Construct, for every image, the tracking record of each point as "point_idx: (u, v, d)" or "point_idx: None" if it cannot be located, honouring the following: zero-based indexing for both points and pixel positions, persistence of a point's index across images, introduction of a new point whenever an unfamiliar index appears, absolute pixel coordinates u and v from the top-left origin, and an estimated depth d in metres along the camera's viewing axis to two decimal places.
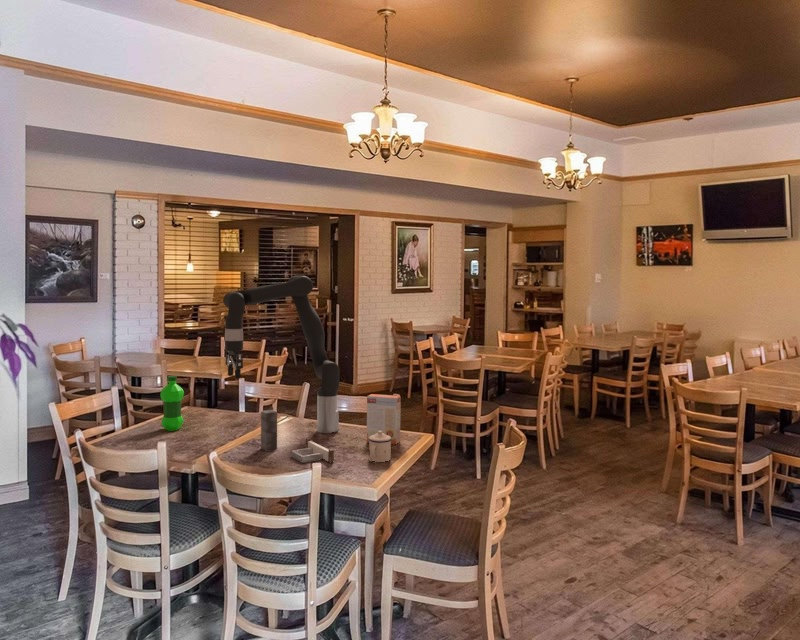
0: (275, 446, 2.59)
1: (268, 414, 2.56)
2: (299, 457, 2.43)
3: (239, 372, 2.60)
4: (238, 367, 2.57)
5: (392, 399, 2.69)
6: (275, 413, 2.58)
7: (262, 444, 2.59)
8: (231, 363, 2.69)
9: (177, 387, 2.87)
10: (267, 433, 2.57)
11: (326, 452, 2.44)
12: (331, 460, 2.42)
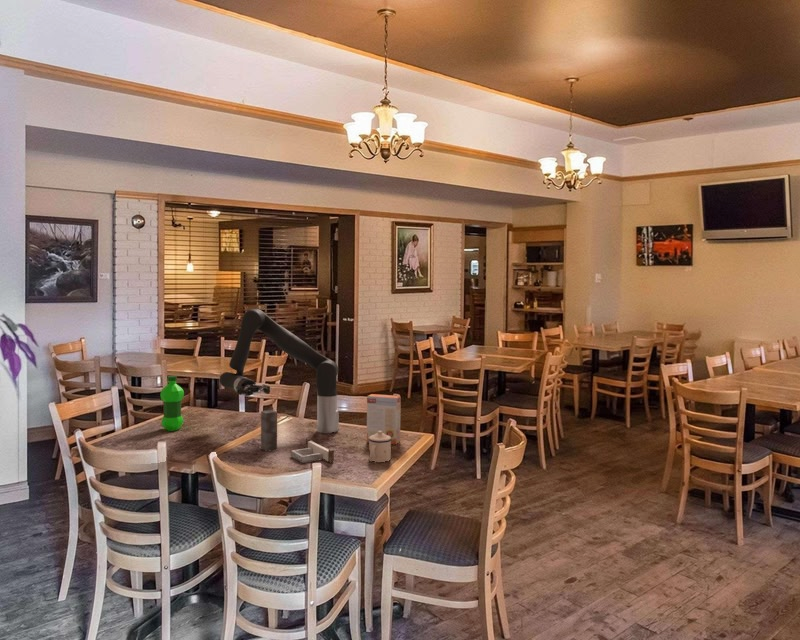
0: (275, 446, 2.59)
1: (268, 414, 2.56)
2: (299, 457, 2.43)
3: (245, 391, 2.66)
4: (239, 393, 2.67)
5: (392, 399, 2.69)
6: (275, 413, 2.58)
7: (262, 444, 2.59)
8: (267, 387, 2.75)
9: (177, 387, 2.87)
10: (267, 433, 2.57)
11: (326, 452, 2.44)
12: (331, 460, 2.42)
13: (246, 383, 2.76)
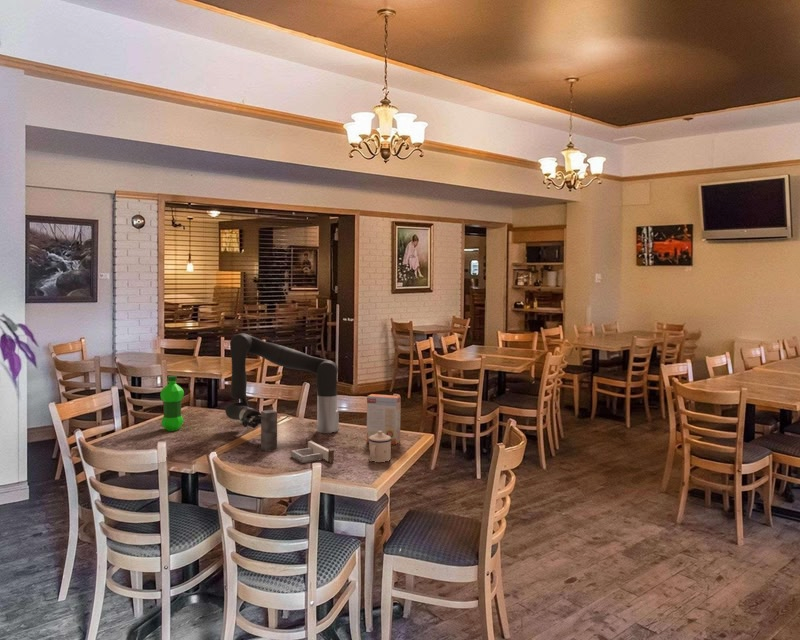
0: (275, 446, 2.59)
1: (268, 414, 2.56)
2: (299, 457, 2.43)
3: (250, 423, 2.63)
4: (244, 425, 2.64)
5: (392, 399, 2.69)
6: (275, 413, 2.58)
7: (262, 444, 2.59)
8: None
9: (177, 387, 2.87)
10: (267, 433, 2.57)
11: (326, 452, 2.44)
12: (331, 460, 2.42)
13: (251, 414, 2.72)
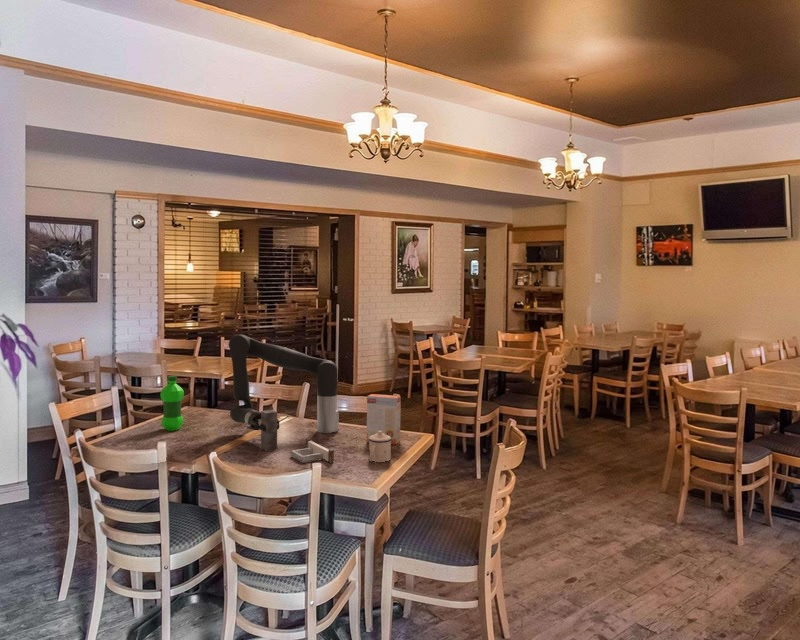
0: (275, 446, 2.59)
1: (268, 414, 2.56)
2: (299, 457, 2.43)
3: (260, 426, 2.57)
4: (254, 428, 2.58)
5: (392, 399, 2.69)
6: (275, 413, 2.58)
7: (262, 444, 2.59)
8: None
9: (177, 387, 2.87)
10: (267, 433, 2.57)
11: (326, 452, 2.44)
12: (331, 460, 2.42)
13: (257, 417, 2.67)
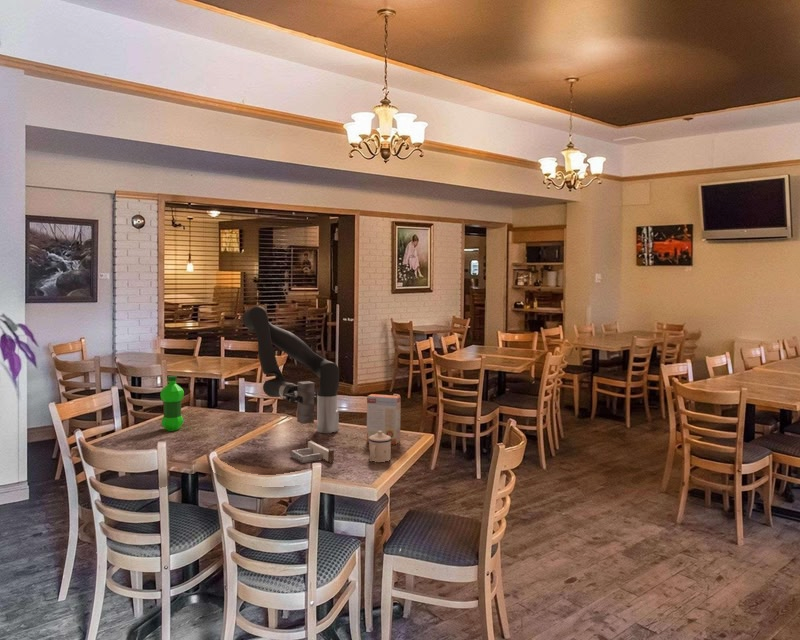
0: (312, 419, 2.47)
1: (305, 385, 2.44)
2: (299, 457, 2.43)
3: (297, 398, 2.46)
4: (290, 400, 2.47)
5: (392, 399, 2.69)
6: (312, 384, 2.46)
7: (298, 417, 2.48)
8: None
9: (177, 387, 2.87)
10: (304, 405, 2.45)
11: (326, 452, 2.44)
12: (331, 460, 2.42)
13: (293, 389, 2.55)
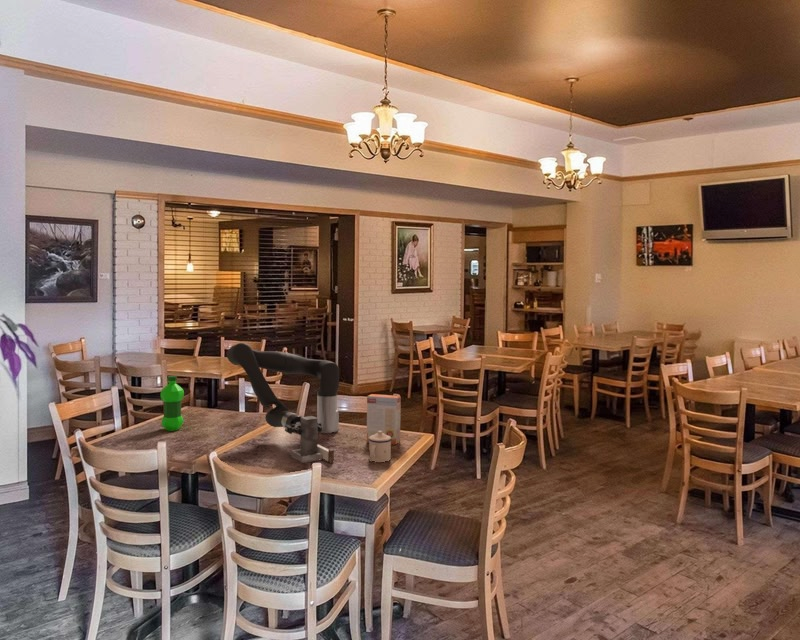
0: None
1: (309, 421, 2.45)
2: (299, 457, 2.43)
3: (296, 430, 2.46)
4: (289, 432, 2.47)
5: (392, 399, 2.69)
6: (316, 419, 2.47)
7: (302, 452, 2.48)
8: (318, 424, 2.54)
9: (177, 387, 2.87)
10: (307, 440, 2.45)
11: (326, 452, 2.44)
12: (331, 460, 2.42)
13: (295, 420, 2.55)
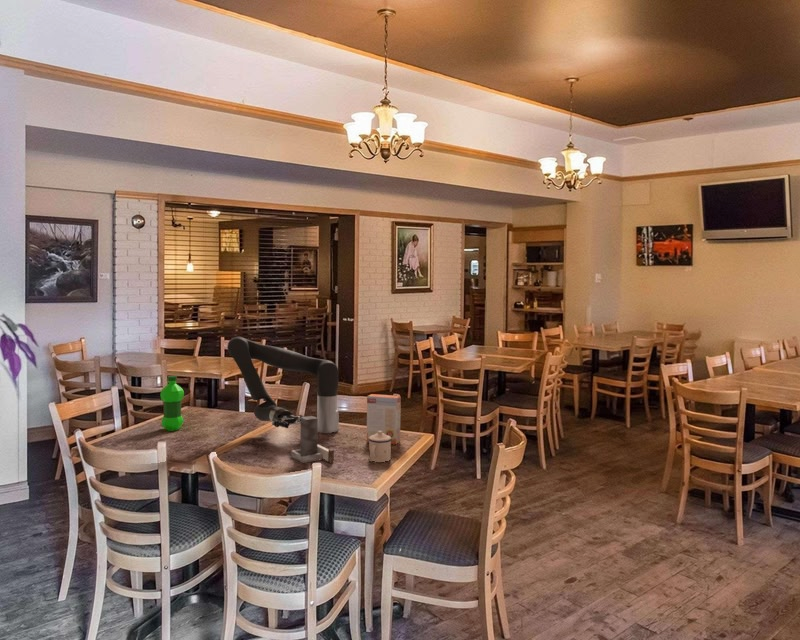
0: None
1: (309, 421, 2.45)
2: (299, 457, 2.43)
3: (282, 423, 2.56)
4: (276, 425, 2.57)
5: (392, 399, 2.69)
6: (316, 419, 2.47)
7: (302, 452, 2.48)
8: None
9: (177, 387, 2.87)
10: (307, 440, 2.45)
11: (326, 452, 2.44)
12: (331, 460, 2.42)
13: (282, 414, 2.66)
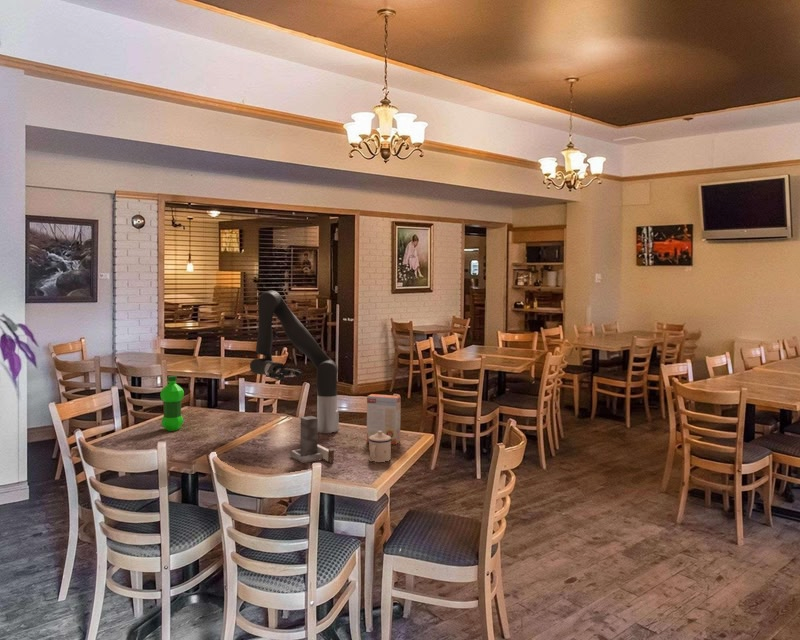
0: None
1: (309, 421, 2.45)
2: (299, 457, 2.43)
3: (277, 374, 2.65)
4: (271, 376, 2.66)
5: (392, 399, 2.69)
6: (316, 419, 2.47)
7: (302, 452, 2.48)
8: (298, 370, 2.74)
9: (177, 387, 2.87)
10: (307, 440, 2.45)
11: (326, 452, 2.44)
12: (331, 460, 2.42)
13: (277, 367, 2.75)
